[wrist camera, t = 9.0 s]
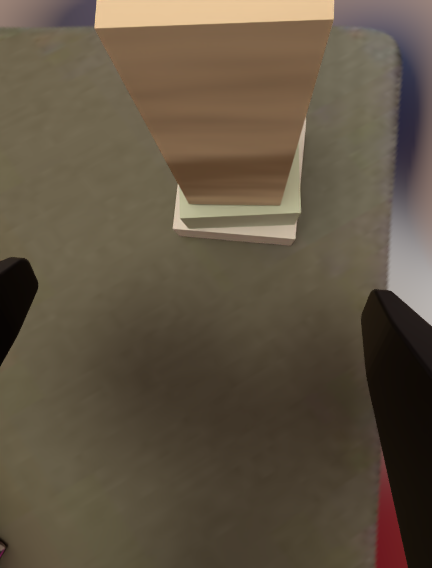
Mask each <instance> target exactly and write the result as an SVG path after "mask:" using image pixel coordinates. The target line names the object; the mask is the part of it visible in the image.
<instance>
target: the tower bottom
mask: <svg viewBox="0 0 432 568" xmlns="http://www.w3.org/2000/svg"><path fill="white" fill-rule="evenodd" d="M305 128H306V118H305V121H304V124H303V128H302V131H301V135H300V138H299V171H300V182H301V171H302V160H303V149H304V138H305ZM296 225H297V221H296V223H295V225H277V226H254V227H229V228H204V229H188V228H187V226H186V225H185V224H184V223H183V222H182V220H181V219H180V196H179V185H178V187H177V196H176V205H175V214H174V223H173V230H174V231H175V232H176V233H177V234H178V235H179V236H185V237H197V238H208V239H220V240H231V241H243V242H255V243H266V244H278V245H289V246H291V244H292V243H293V242H294V240H295V236H296Z"/></svg>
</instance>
